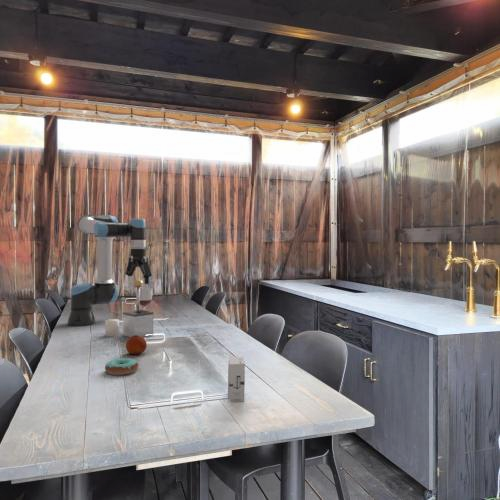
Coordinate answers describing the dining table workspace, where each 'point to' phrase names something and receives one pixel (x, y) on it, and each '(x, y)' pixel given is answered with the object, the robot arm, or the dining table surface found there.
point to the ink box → (236, 379)
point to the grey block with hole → (137, 323)
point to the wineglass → (145, 297)
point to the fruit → (136, 345)
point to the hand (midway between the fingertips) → (138, 289)
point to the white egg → (111, 327)
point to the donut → (121, 366)
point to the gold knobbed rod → (138, 292)
